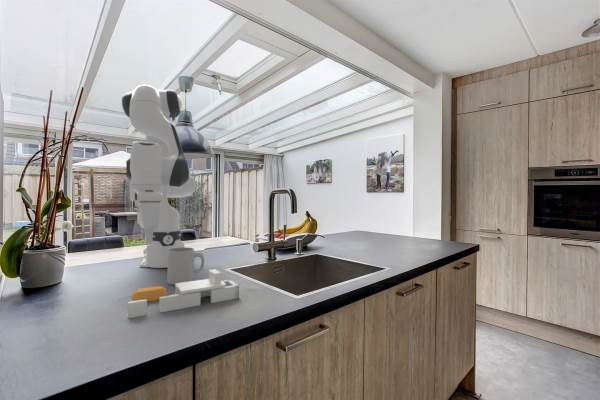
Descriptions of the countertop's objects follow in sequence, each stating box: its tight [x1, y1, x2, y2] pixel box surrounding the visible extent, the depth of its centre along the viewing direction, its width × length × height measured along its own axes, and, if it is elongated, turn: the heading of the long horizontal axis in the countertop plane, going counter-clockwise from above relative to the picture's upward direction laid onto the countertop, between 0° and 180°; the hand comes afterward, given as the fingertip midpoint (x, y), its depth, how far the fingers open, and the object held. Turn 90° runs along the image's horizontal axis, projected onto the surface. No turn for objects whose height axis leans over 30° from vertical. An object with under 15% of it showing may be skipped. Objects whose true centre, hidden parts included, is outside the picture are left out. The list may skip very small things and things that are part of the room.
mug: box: [166, 247, 205, 286], centre depth 105 cm, size 12×8×11 cm
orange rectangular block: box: [131, 285, 168, 303], centre depth 86 cm, size 3×9×3 cm, turn 123°
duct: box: [127, 279, 240, 319], centre depth 84 cm, size 7×28×4 cm, turn 123°
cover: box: [174, 268, 226, 294], centre depth 86 cm, size 8×12×4 cm, turn 123°
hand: (146, 241), depth 91 cm, fingers open, 8 cm apart
